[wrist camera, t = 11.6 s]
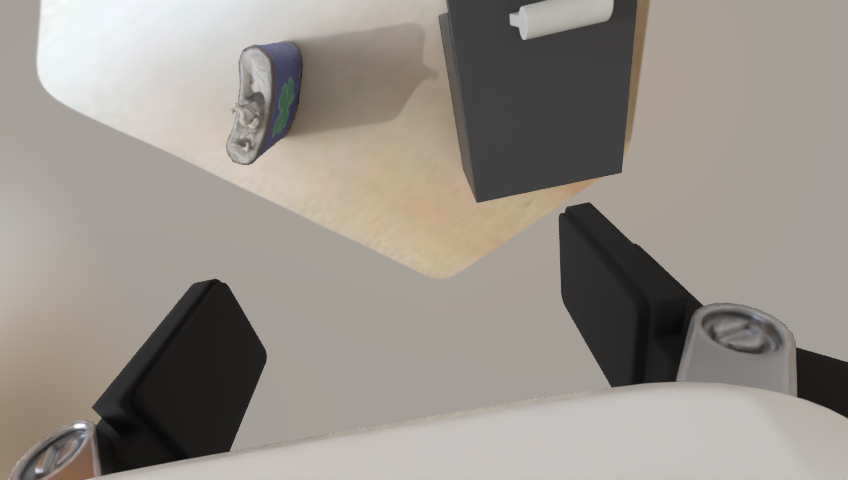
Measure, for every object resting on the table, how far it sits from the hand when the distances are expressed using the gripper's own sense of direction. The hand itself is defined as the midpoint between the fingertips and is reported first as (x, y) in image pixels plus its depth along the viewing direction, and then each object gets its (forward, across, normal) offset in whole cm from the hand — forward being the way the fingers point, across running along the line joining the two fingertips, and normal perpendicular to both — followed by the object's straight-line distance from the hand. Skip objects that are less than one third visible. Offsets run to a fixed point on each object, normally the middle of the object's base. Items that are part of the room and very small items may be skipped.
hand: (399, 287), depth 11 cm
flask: (+31, +11, -3) cm, 33 cm away
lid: (+22, -11, +1) cm, 25 cm away
